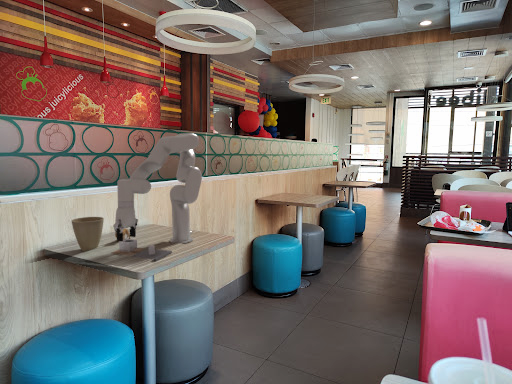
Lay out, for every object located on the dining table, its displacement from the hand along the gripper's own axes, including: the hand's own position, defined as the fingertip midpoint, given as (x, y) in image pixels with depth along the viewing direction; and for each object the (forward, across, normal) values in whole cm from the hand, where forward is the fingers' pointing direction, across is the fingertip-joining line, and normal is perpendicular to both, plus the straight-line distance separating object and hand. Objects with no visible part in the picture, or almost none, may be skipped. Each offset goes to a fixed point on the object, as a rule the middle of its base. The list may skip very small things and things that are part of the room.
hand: (126, 238), depth 171 cm
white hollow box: (+6, -1, 0) cm, 6 cm away
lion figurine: (+7, -18, -16) cm, 25 cm away
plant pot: (+8, 0, -22) cm, 24 cm away
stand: (+7, -1, 0) cm, 7 cm away
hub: (+7, 0, +14) cm, 16 cm away
